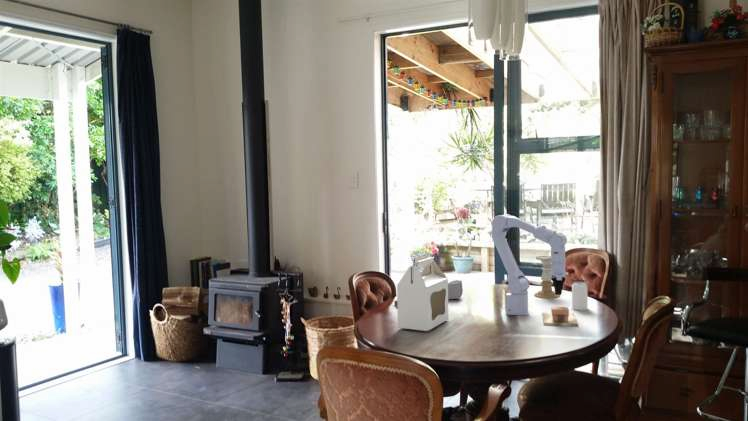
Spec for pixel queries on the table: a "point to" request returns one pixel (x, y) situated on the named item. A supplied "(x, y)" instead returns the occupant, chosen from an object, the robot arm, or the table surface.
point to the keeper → (560, 312)
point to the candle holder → (546, 279)
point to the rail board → (559, 320)
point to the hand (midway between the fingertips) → (558, 294)
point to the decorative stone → (455, 289)
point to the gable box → (422, 296)
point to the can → (579, 296)
